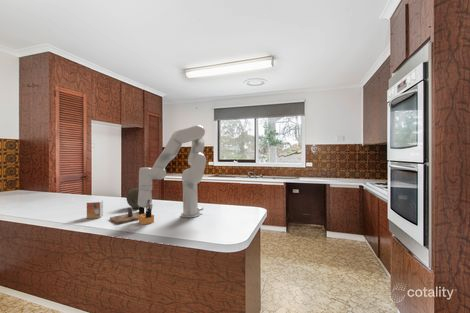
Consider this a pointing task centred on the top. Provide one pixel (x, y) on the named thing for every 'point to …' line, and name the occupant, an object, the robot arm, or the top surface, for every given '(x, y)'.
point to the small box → (94, 209)
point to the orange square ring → (146, 219)
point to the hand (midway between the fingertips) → (144, 215)
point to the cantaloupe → (133, 197)
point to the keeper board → (126, 217)
